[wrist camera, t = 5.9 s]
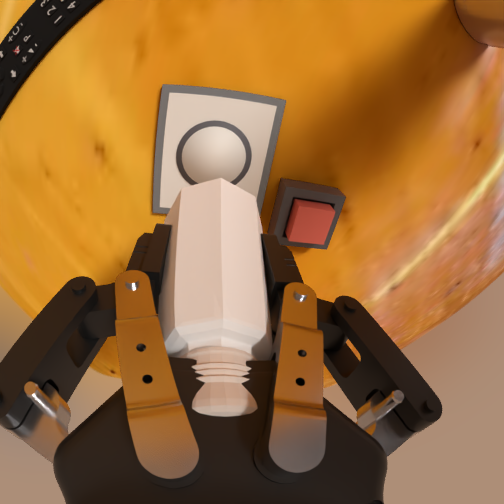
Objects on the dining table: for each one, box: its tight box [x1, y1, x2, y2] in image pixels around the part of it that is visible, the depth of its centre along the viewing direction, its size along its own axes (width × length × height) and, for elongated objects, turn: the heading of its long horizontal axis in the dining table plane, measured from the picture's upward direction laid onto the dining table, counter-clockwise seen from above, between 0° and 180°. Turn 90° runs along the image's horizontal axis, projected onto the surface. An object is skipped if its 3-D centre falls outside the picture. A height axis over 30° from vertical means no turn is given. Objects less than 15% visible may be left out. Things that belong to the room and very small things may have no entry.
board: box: [153, 84, 286, 216], centre depth 26 cm, size 12×14×1 cm
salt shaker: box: [158, 178, 272, 417], centre depth 11 cm, size 5×5×11 cm
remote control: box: [0, 0, 101, 118], centre depth 14 cm, size 8×32×2 cm, turn 122°
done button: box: [285, 199, 335, 245], centre depth 29 cm, size 4×4×2 cm
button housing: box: [268, 178, 346, 249], centre depth 31 cm, size 7×7×2 cm
